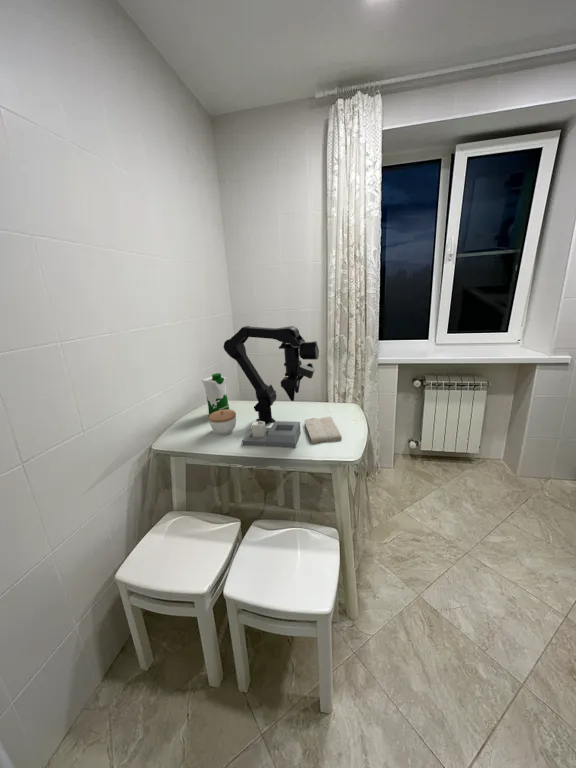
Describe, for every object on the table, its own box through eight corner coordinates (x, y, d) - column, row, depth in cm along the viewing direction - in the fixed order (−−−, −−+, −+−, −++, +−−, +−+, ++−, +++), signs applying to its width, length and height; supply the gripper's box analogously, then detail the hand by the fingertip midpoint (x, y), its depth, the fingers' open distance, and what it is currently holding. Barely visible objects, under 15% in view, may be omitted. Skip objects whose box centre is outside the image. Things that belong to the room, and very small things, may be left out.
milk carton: (218, 420, 132) (212, 377, 126) (205, 416, 138) (198, 375, 131) (233, 413, 139) (227, 372, 133) (220, 409, 144) (214, 370, 138)
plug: (253, 440, 112) (251, 423, 110) (255, 436, 115) (253, 419, 113) (264, 440, 111) (262, 423, 109) (266, 437, 114) (264, 419, 112)
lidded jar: (236, 436, 116) (233, 414, 113) (209, 439, 116) (205, 417, 113) (239, 424, 126) (236, 404, 123) (214, 427, 126) (210, 407, 123)
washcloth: (330, 420, 124) (330, 414, 124) (343, 441, 107) (343, 433, 107) (303, 424, 123) (302, 417, 123) (311, 445, 106) (310, 437, 106)
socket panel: (242, 445, 109) (241, 433, 107) (252, 431, 119) (250, 420, 118) (295, 447, 104) (294, 435, 103) (300, 433, 115) (299, 421, 113)
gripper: (308, 365, 104) (311, 405, 109) (315, 353, 122) (317, 389, 126) (278, 365, 107) (282, 405, 112) (289, 354, 124) (292, 389, 129)
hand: (294, 396), depth 120 cm, fingers open, 9 cm apart
